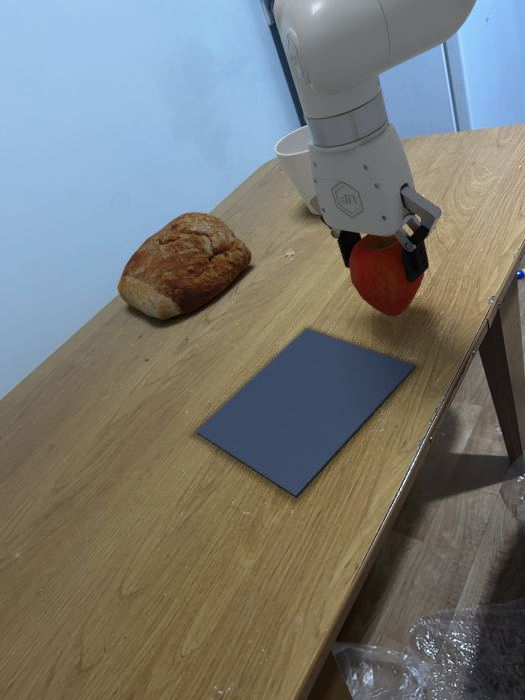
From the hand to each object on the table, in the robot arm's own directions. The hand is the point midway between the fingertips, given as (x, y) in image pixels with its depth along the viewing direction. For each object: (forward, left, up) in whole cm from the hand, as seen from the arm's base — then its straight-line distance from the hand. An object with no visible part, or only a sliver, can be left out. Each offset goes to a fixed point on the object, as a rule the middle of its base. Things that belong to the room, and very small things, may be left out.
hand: (385, 267), depth 66 cm
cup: (+31, -22, -8) cm, 39 cm away
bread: (+40, +6, -8) cm, 41 cm away
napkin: (+2, +16, -8) cm, 18 cm away
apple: (0, 0, -7) cm, 7 cm away
